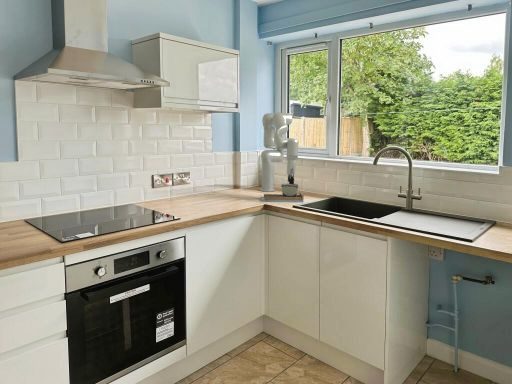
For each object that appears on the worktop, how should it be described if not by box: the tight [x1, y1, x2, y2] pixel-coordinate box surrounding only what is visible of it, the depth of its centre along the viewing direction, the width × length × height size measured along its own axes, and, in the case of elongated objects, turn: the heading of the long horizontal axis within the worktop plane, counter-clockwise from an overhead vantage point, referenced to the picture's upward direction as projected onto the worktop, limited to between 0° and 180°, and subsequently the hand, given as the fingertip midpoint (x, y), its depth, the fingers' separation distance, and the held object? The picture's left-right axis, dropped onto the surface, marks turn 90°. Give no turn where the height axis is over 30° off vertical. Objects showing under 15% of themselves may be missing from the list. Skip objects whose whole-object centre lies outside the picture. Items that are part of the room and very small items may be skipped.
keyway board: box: [260, 191, 305, 203], centre depth 282 cm, size 12×28×5 cm, turn 91°
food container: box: [280, 182, 300, 197], centre depth 283 cm, size 12×6×10 cm, turn 69°
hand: (290, 182), depth 282 cm, fingers open, 9 cm apart
